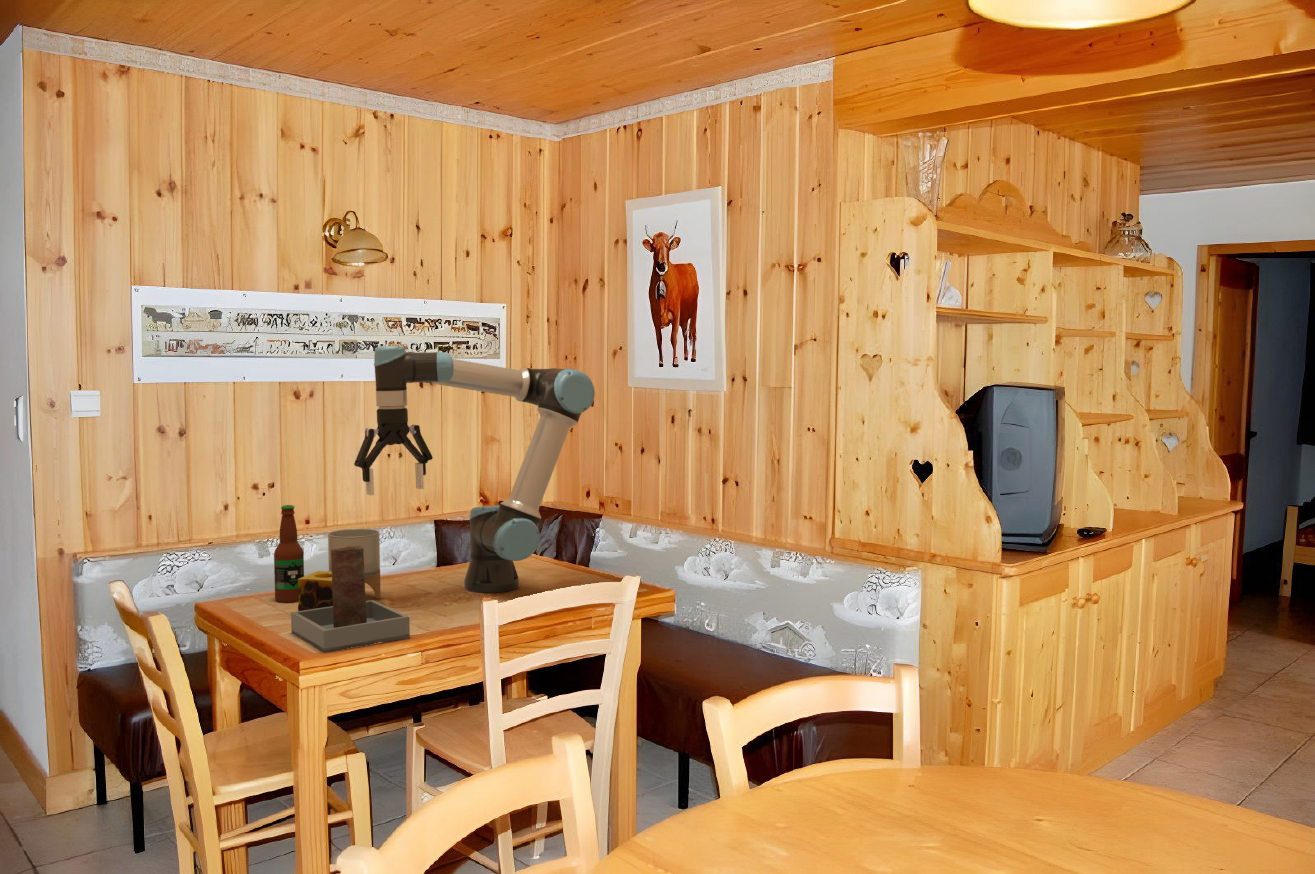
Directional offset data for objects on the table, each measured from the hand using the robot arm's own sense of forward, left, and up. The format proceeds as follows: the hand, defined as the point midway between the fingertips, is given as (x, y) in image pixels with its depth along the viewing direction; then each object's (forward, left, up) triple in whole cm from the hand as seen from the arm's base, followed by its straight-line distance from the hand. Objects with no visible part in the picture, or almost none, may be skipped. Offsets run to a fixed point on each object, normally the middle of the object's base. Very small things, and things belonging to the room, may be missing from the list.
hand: (395, 491), depth 264 cm
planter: (+4, -16, -30) cm, 34 cm away
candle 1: (+16, -5, -30) cm, 35 cm away
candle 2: (+19, +17, -29) cm, 39 cm away
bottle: (+18, -25, -30) cm, 43 cm away
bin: (+19, +17, -30) cm, 40 cm away
